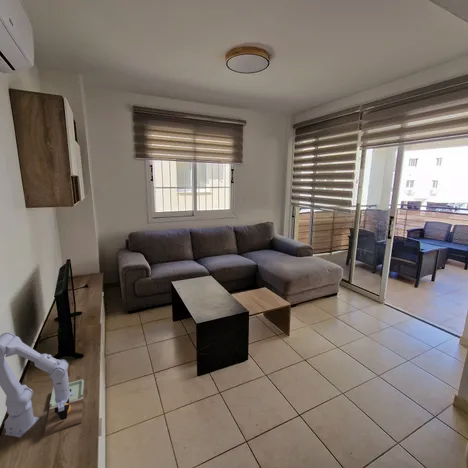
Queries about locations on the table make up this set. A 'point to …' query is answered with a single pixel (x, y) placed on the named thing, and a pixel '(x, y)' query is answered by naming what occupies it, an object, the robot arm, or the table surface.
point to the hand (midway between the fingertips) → (64, 412)
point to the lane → (72, 419)
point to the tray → (75, 387)
